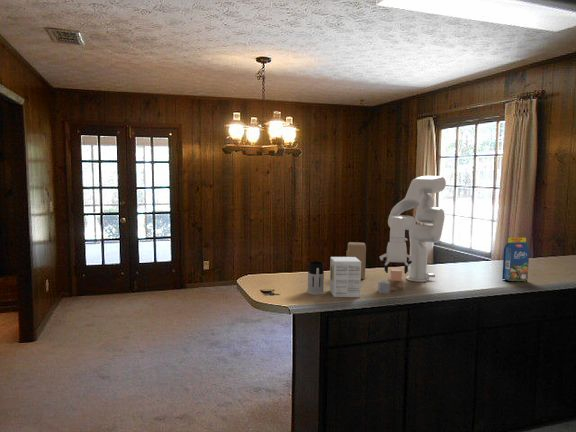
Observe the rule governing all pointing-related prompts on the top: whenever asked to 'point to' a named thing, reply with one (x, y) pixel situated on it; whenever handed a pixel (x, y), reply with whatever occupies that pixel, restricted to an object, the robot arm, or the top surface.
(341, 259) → the supplement box
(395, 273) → the terracotta cube
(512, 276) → the blue food package
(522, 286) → the top surface
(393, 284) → the walnut base block
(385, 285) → the slate grey cube
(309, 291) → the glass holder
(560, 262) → the top surface
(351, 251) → the block
